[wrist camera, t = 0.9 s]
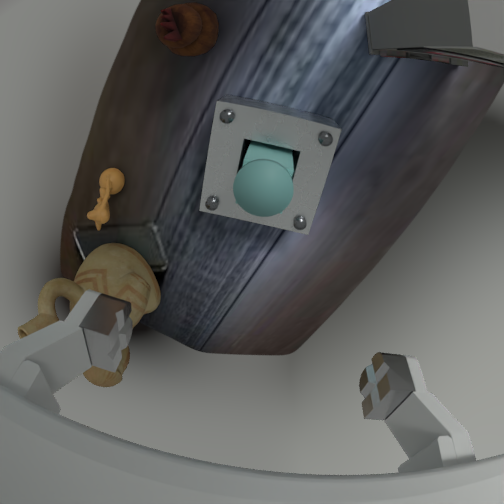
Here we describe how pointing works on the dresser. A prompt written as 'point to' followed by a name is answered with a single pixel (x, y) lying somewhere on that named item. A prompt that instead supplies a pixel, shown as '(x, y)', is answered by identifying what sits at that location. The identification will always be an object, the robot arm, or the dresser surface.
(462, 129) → the dresser surface
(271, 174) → the cover plug
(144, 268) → the ceramic vessel
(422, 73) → the dresser surface
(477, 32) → the cassette tape recorder
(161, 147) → the dresser surface
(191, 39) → the wooden figurine
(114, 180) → the figurine
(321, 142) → the housing
